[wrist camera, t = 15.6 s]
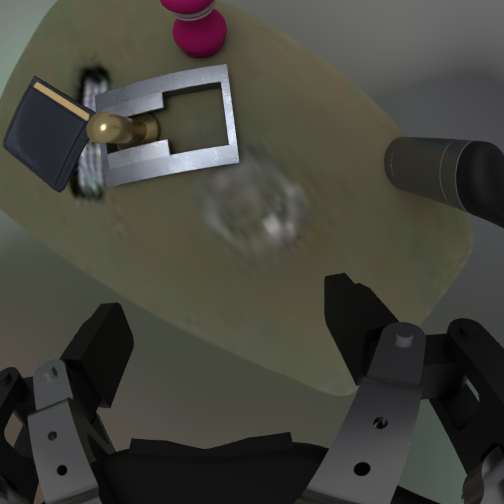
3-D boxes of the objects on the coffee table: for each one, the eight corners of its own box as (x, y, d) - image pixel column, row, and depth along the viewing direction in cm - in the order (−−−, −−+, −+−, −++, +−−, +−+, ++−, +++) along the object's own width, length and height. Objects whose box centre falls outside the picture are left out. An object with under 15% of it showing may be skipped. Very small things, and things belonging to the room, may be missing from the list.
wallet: (-3, 144, 31) (32, 71, 28) (3, 144, 33) (38, 73, 30) (56, 199, 37) (100, 117, 33) (62, 196, 39) (105, 118, 35)
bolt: (157, 107, 35) (124, 90, 22) (163, 148, 37) (131, 148, 24) (118, 118, 35) (73, 108, 22) (123, 157, 37) (79, 164, 24)
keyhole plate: (227, 71, 34) (226, 64, 30) (238, 161, 39) (239, 162, 35) (105, 99, 33) (94, 95, 30) (116, 184, 38) (106, 187, 35)
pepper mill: (180, 24, 30) (149, -48, 11) (227, 21, 31) (227, -56, 12) (177, 62, 33) (136, 2, 14) (226, 60, 33) (222, -8, 15)
